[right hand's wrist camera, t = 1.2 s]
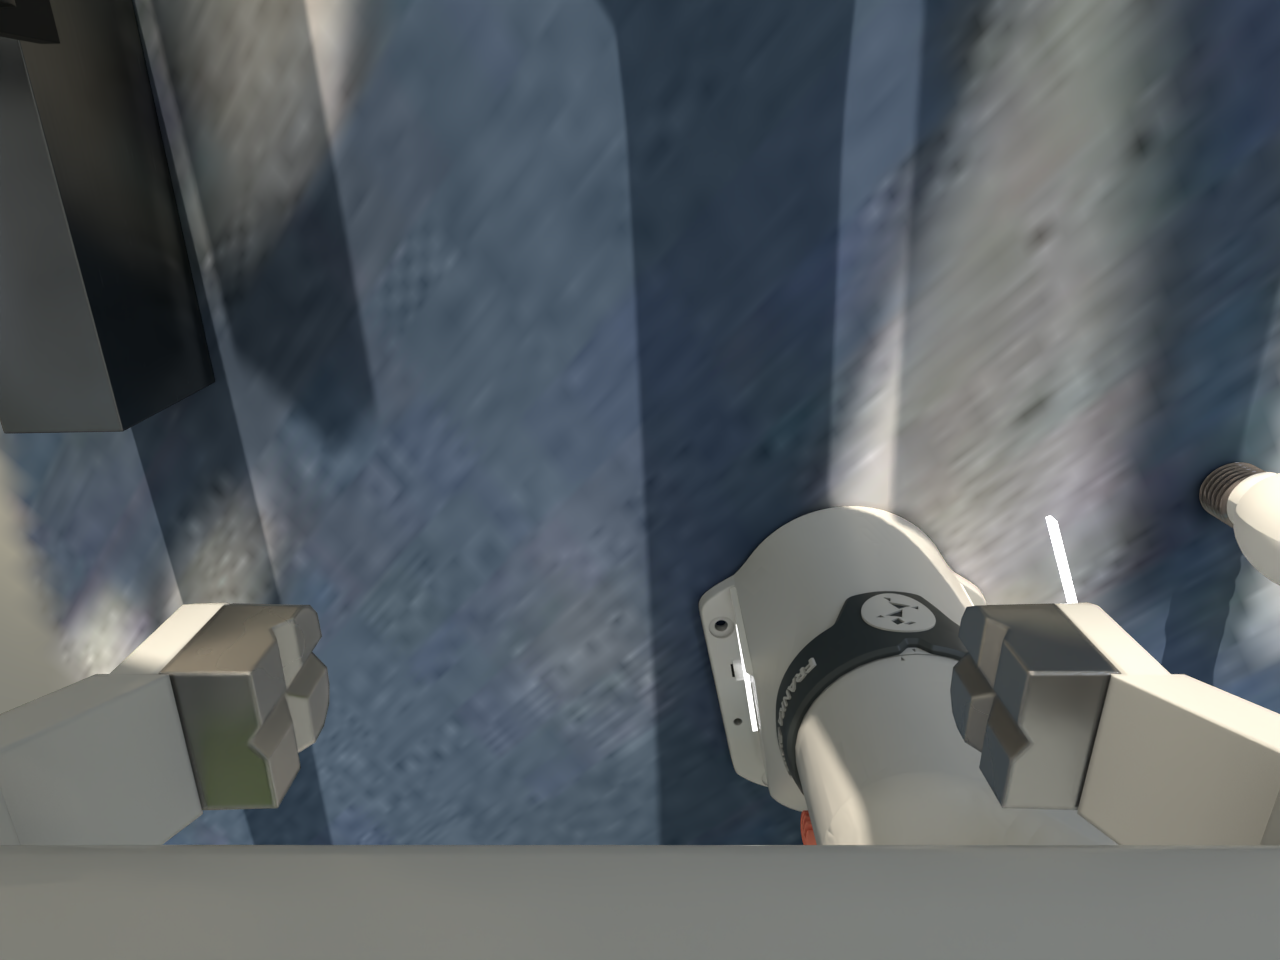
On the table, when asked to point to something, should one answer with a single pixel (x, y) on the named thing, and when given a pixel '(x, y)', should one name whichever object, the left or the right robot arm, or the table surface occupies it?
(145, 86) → the bar
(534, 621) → the table surface
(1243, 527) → the light bulb
